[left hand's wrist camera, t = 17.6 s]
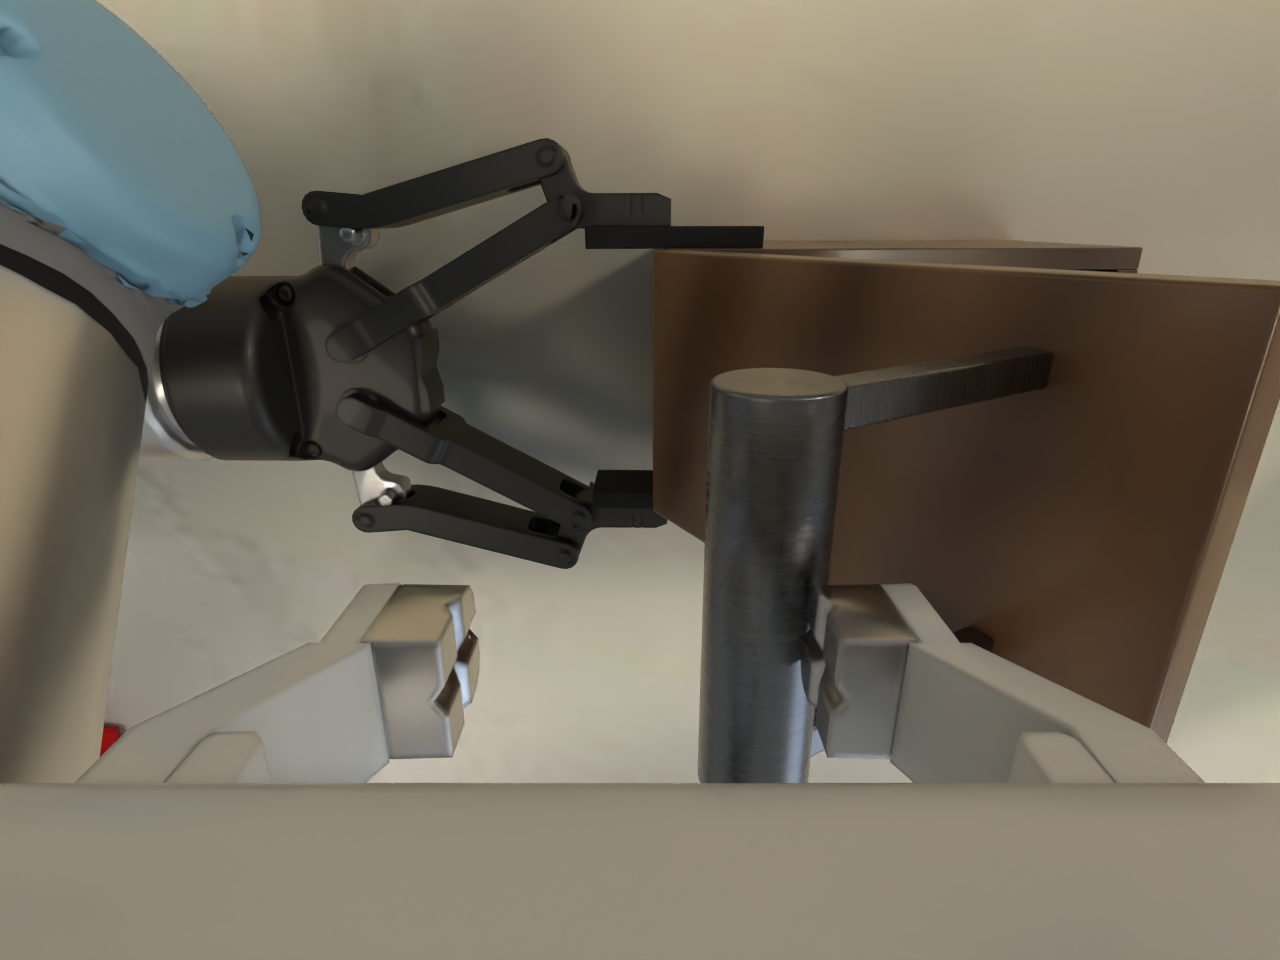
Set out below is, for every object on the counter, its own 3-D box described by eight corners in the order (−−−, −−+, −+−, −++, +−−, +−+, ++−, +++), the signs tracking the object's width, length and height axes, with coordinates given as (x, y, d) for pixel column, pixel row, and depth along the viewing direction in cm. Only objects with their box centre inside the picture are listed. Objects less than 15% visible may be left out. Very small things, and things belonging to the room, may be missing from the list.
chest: (1015, 240, 33) (1143, 247, 24) (980, 436, 36) (1082, 504, 27) (664, 241, 33) (666, 248, 24) (663, 435, 36) (664, 502, 28)
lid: (1320, 282, 10) (958, 326, 6) (1154, 785, 14) (849, 1029, 10) (680, 249, 24) (435, 256, 20) (676, 505, 27) (466, 555, 23)
